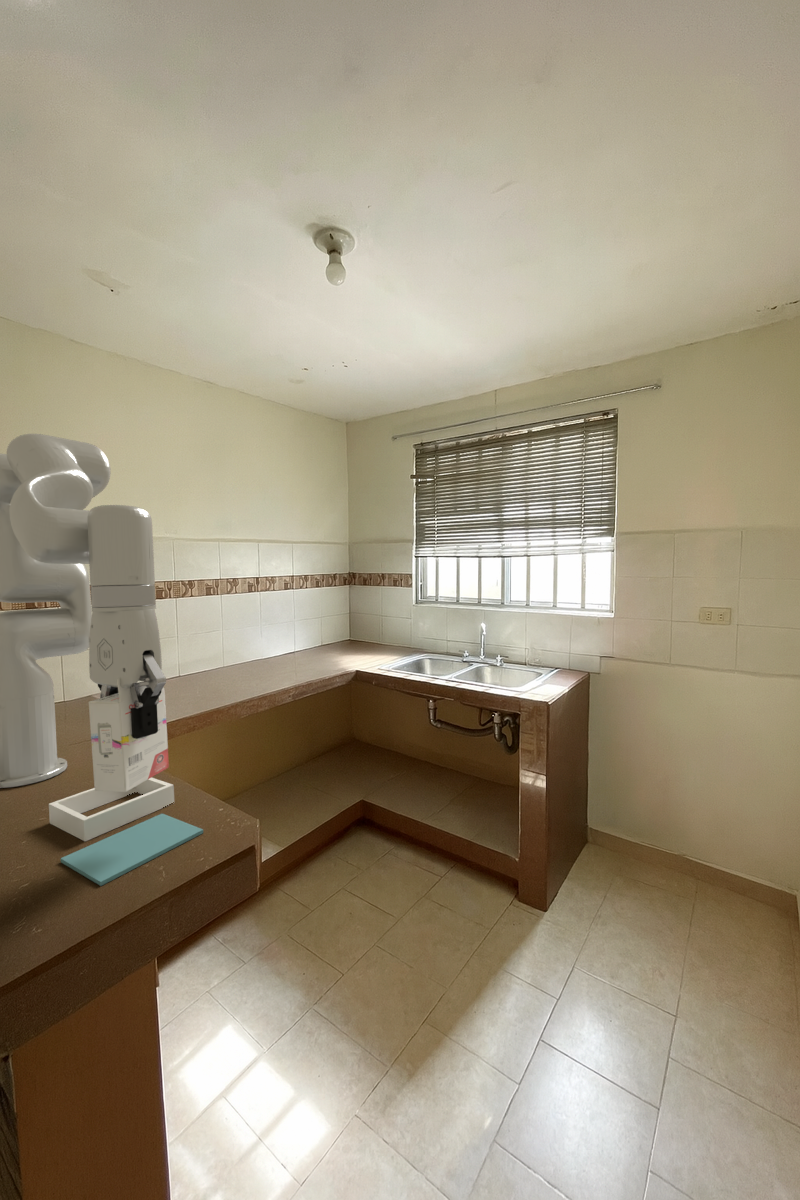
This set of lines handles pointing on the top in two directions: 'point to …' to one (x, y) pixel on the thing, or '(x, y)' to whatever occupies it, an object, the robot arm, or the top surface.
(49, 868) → the top surface
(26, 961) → the top surface
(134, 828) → the mat
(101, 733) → the ink cartridge box
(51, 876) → the top surface
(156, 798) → the white rectangular frame
